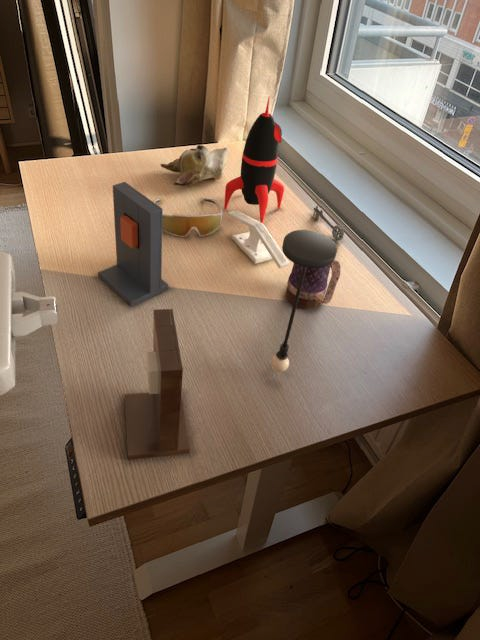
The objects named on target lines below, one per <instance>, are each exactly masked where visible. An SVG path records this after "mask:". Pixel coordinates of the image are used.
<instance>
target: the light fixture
mask: <svg viewBox="0 0 480 640" xmlns="http://www.w3.org/2000/svg"><path fill="white" fill-rule="evenodd" d="M281 249H282V250H281V251H282V253H283V254H284V256H285V257H286V259H287V260H288V261H290V262H292V263H293V264H294V263H295V264H297V265H300V266H303V268H302V272H301V276H300V280H299V284H298V288H297V292H296V296H295V300H294V304H292V308H291V313H290V316H289V320H288V324H287V329H286V331H285V336H284V340H283V342H282V343H281V344H280V345H279V350H278V351H277V352H276V353H275V355H274V356H273V357H272V358H271V367H272V369H273V370H274V371H275V372H279V373H282V372H285V371H286V370H288V368H289V366H290V360H289V354H288V352H289V347H290V346H289V344H288V343H289V338H290V334H291V330H292V326H293V322H294V318H295V315H296V311H297V308H298V307H297V303H298V299H299V296H300V292H301V288H302V284H303V280H304V276H305V272H306V268H307V267H308V268H322V267H326V266H328V265H330V264H331V263H333V261H334V260H336V257H337V253H338V248H337V245H336V243H335V241H334V240H332V239H331V238H330V237H329V236H327V235H325V234H323V233H321V232H318V231H315V230H311V229H310V230H309V229H297V230H293V231H291V232H288V233H287V234H286V235H285V236H284V237H283V241H282V246H281Z"/></svg>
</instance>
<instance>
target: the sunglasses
mask: <svg viewBox="0 0 480 640" xmlns="http://www.w3.org/2000/svg"><path fill="white" fill-rule="evenodd" d="M202 201H203V202H207V203H211V204H214V205H215V206H216V208H218V210H219V212H217V213H205V214H174V213H173V214H165V213H162V232H165V233H166V234H168V235H172V236H175V237H179V238H186V237H187V236H188V235H189V234H190V232H191V231H192V230H195V231H196V233H197V236H199V237H205V236H208V235H212V234H213V233H215V232H216V231H218V229H220V226H221V224H222V219H223V209H222V207H221V205H220V204H219V203H218V202H217V201H216V200H214V199H211V198H202ZM153 202H154V203H155V204H158V203H161V199H160V198H159V199H155V200H154V201H153Z"/></svg>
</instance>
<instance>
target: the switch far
mask: <svg viewBox="0 0 480 640" xmlns="http://www.w3.org/2000/svg"><path fill="white" fill-rule="evenodd" d="M120 224H121V240H122V241H123V242H125V243H126V244H127V245H128V246H130V247H131V248H132V249H133V248H135V247H138V224H137V223H136V222H134V221H133V220H132V219H130V218H129V217H128V216H126V215H125V216H123V217H120Z"/></svg>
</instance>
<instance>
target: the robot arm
mask: <svg viewBox="0 0 480 640" xmlns="http://www.w3.org/2000/svg"><path fill="white" fill-rule="evenodd" d="M26 311H30V312H32V313H29V314H27V315H24V314H25V313H26ZM58 323H59V315H58V305H57V298H56V297H55V296H52V295H50V296H37V295H34V294H31V293H28V292H25V291H18V292H17V291H16V271H15V267H14V261H13V258H12V255H11V254H10V253H7V252H4V251H0V396H2V395H5V394H6V393H8V392H9V391H11V390H12V389H14V387H16V338H17V337H24V336H28V335H30V334H31V333H33V332H35V331H37V330H38V329H40V328H42V327H44V326H50V325H51V326H53V325H56V324H58Z"/></svg>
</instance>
